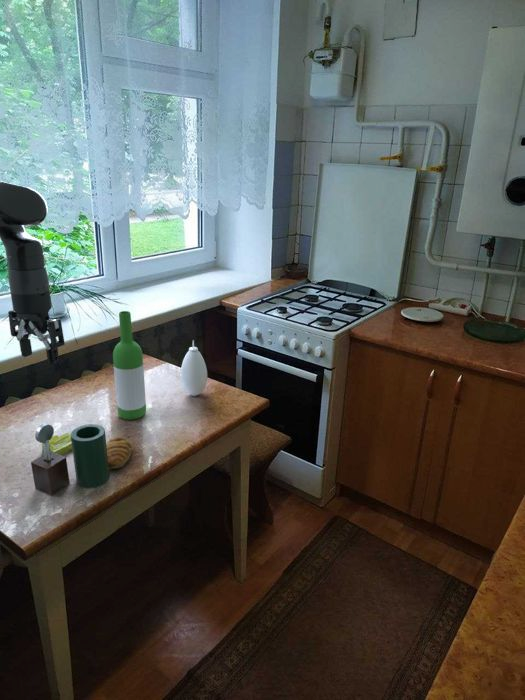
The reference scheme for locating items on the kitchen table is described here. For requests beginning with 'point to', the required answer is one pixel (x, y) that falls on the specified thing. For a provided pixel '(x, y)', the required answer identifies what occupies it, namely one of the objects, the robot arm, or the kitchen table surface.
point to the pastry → (118, 452)
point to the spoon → (45, 439)
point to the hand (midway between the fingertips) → (40, 359)
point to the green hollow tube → (90, 455)
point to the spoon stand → (50, 474)
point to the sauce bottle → (193, 372)
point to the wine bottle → (129, 372)
